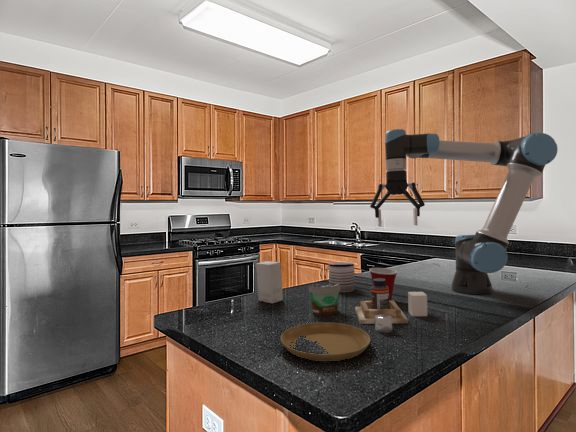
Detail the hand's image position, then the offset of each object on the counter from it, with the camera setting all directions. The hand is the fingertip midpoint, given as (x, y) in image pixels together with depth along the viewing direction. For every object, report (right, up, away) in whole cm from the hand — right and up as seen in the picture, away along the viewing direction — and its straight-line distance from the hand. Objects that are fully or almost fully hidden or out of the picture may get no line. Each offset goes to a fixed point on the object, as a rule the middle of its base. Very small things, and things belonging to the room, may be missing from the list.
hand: (397, 225), depth 146 cm
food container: (-28, -31, -14) cm, 44 cm away
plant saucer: (-32, -32, -43) cm, 63 cm away
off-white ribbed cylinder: (-19, -29, +21) cm, 40 cm away
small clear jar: (-13, -31, -32) cm, 46 cm away
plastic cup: (-5, -29, +1) cm, 30 cm away
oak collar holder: (-11, -30, -19) cm, 37 cm away
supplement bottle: (-11, -29, -19) cm, 36 cm away
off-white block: (+2, -30, -18) cm, 35 cm away
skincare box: (-50, -31, +6) cm, 59 cm away
